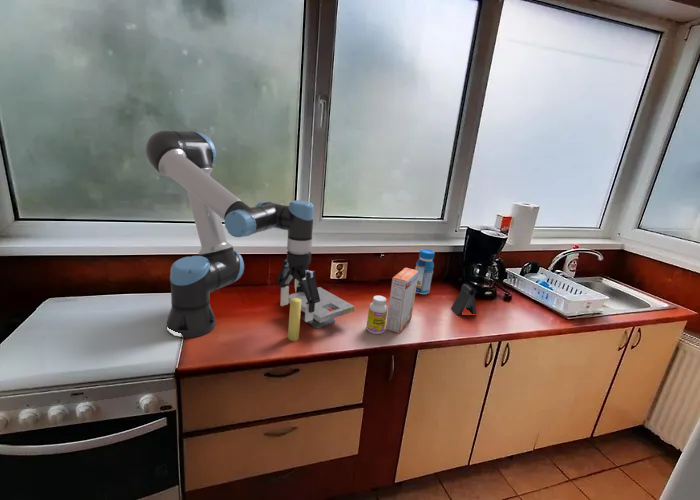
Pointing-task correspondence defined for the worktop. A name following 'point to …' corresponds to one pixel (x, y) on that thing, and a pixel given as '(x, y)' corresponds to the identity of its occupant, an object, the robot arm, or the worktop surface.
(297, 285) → the pneumatic valve
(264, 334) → the worktop surface
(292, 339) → the pin
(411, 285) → the cracker box
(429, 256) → the beverage bottle
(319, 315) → the gray slab
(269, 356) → the worktop surface
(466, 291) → the phone stand
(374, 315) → the supplement bottle
